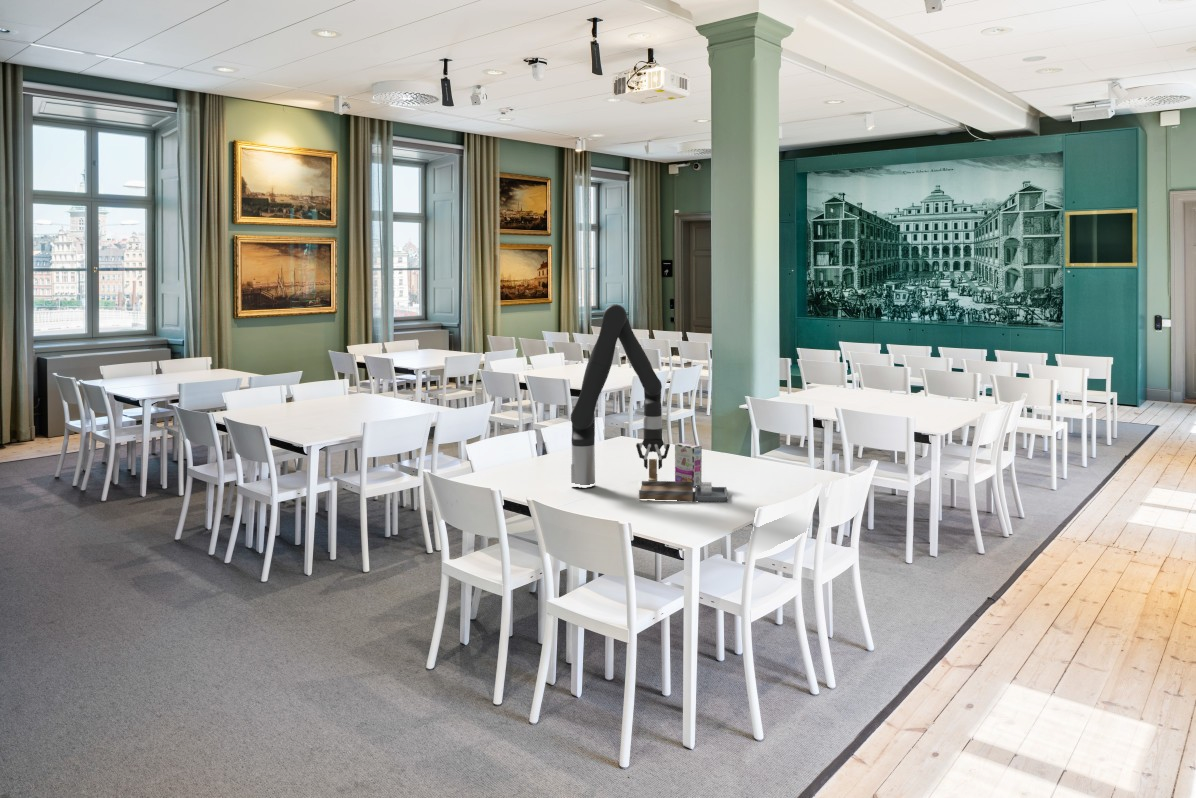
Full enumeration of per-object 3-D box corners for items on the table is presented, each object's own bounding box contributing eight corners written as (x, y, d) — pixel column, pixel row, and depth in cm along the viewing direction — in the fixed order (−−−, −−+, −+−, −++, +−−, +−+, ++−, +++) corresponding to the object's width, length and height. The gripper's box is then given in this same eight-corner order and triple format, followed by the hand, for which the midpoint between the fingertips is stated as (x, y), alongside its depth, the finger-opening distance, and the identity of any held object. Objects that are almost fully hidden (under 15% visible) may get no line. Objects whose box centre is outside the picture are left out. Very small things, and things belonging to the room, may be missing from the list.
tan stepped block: (648, 489, 358) (648, 462, 356) (650, 483, 369) (649, 456, 367) (655, 489, 358) (655, 462, 356) (657, 483, 368) (657, 457, 367)
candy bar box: (702, 485, 363) (702, 445, 360) (693, 487, 360) (693, 447, 357) (683, 481, 371) (683, 442, 369) (674, 482, 368) (674, 443, 366)
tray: (695, 501, 338) (695, 496, 337) (695, 491, 353) (695, 486, 353) (727, 502, 336) (727, 497, 336) (726, 492, 352) (726, 487, 352)
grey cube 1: (701, 484, 346) (711, 484, 345) (701, 482, 350) (711, 482, 349) (700, 494, 346) (711, 494, 346) (701, 492, 350) (711, 492, 350)
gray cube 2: (700, 487, 341) (711, 487, 340) (700, 485, 345) (711, 485, 344) (700, 498, 341) (711, 498, 341) (700, 495, 345) (711, 495, 345)
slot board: (639, 501, 340) (639, 490, 339) (641, 490, 356) (641, 480, 355) (692, 501, 338) (692, 491, 337) (692, 491, 353) (692, 481, 353)
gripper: (634, 428, 357) (634, 470, 359) (670, 428, 355) (670, 470, 358) (635, 425, 364) (636, 466, 367) (671, 425, 363) (671, 466, 365)
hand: (653, 468), depth 362 cm, fingers open, 4 cm apart
